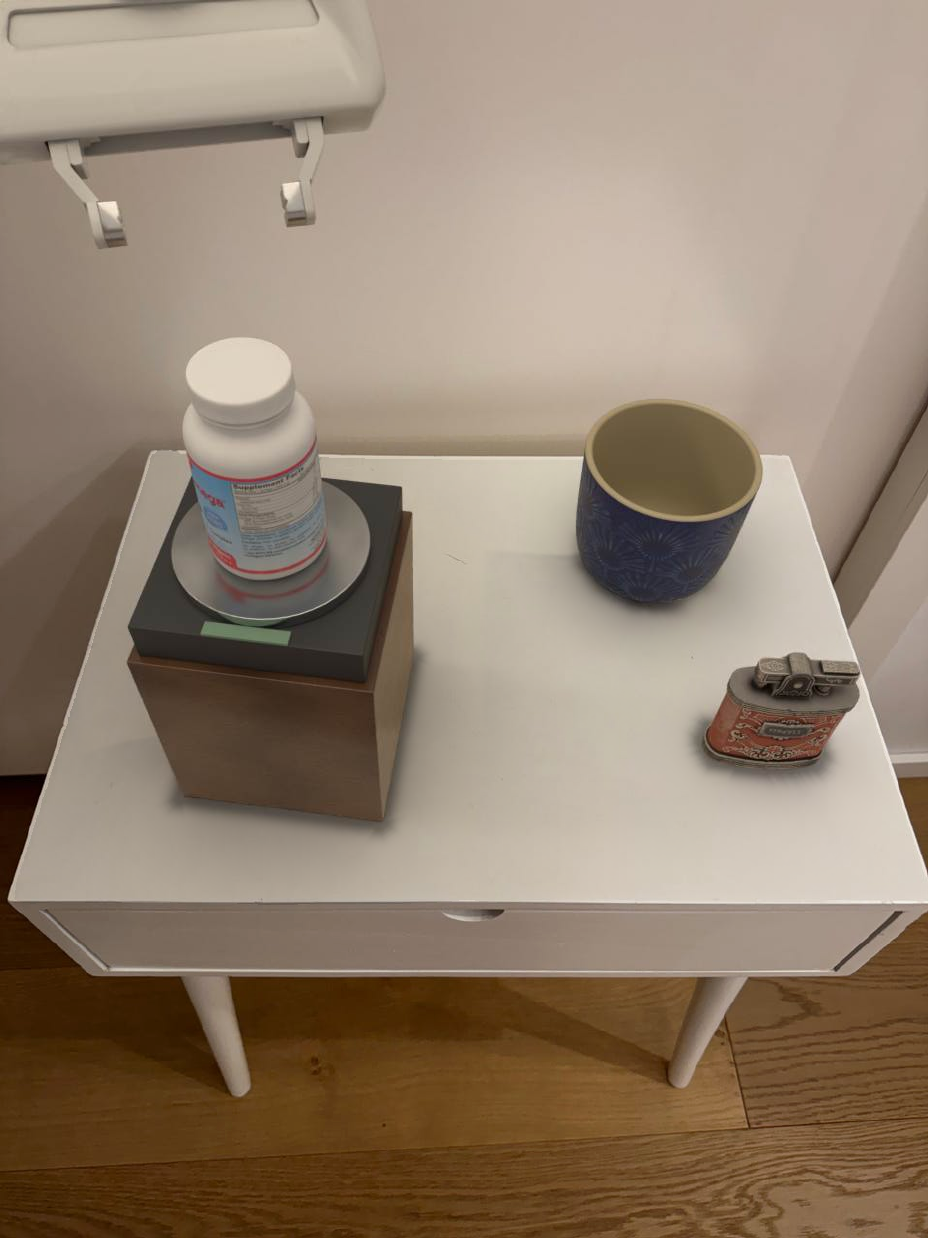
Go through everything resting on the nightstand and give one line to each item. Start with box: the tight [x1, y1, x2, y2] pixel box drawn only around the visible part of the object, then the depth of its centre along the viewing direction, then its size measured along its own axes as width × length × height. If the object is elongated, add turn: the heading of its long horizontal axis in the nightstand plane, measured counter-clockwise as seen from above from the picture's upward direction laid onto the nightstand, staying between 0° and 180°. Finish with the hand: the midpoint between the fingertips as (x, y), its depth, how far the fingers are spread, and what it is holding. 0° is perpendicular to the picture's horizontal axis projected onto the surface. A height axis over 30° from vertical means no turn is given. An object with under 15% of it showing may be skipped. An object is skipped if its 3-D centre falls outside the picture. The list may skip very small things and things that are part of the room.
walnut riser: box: [126, 510, 415, 822], centre depth 59 cm, size 13×13×15 cm
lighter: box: [701, 651, 862, 770], centre depth 61 cm, size 8×3×10 cm, turn 88°
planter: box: [575, 398, 764, 604], centre depth 71 cm, size 12×12×11 cm
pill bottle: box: [181, 336, 327, 580], centre depth 46 cm, size 6×6×11 cm
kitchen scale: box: [127, 475, 404, 683], centre depth 52 cm, size 12×12×3 cm
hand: (208, 233), depth 48 cm, fingers open, 8 cm apart
